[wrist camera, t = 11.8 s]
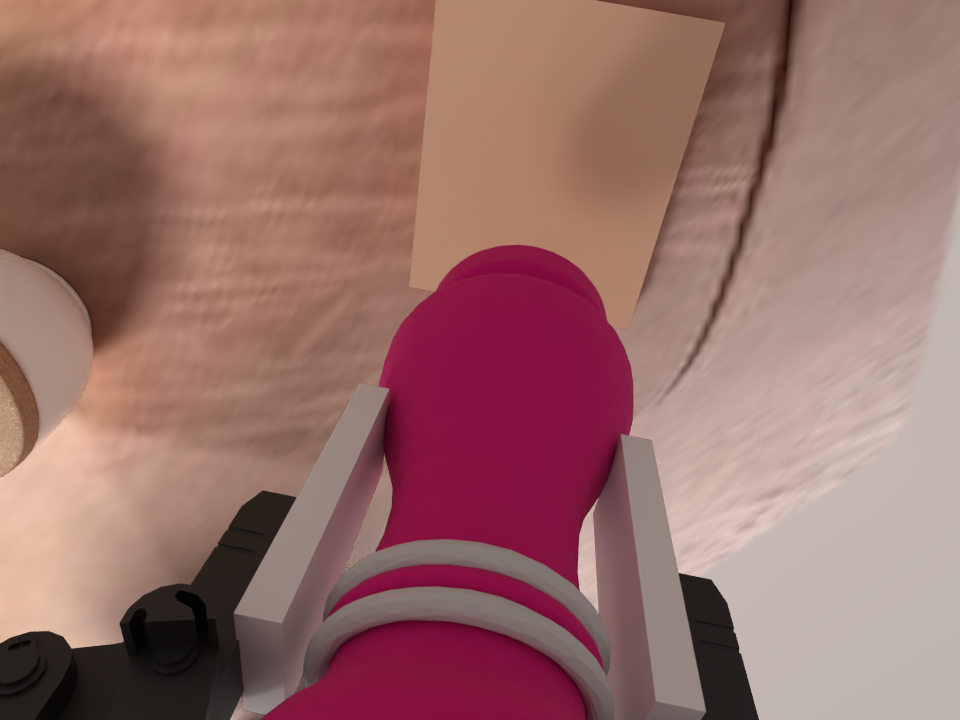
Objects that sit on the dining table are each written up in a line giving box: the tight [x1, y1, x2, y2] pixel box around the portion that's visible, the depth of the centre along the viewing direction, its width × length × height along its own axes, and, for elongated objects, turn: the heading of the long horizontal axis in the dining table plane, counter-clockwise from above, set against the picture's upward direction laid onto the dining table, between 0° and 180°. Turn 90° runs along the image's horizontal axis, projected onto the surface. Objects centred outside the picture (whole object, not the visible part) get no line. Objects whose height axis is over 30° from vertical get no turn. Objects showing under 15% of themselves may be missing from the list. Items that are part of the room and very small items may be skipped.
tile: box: [409, 0, 726, 328], centre depth 24 cm, size 2×10×12 cm
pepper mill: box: [261, 245, 633, 720], centre depth 12 cm, size 7×7×20 cm
